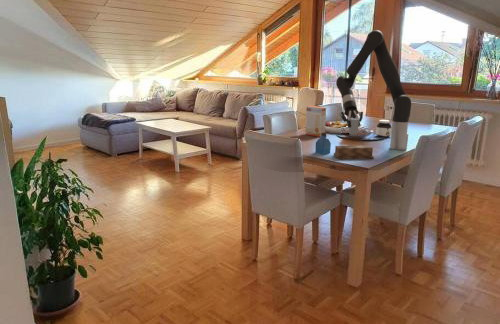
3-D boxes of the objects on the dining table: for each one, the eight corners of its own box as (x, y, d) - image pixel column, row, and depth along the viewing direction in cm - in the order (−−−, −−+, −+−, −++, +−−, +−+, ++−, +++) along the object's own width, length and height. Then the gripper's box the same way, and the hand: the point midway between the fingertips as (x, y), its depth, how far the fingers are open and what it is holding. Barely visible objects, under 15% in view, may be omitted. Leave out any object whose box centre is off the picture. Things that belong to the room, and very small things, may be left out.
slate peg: (355, 133, 235) (356, 118, 232) (357, 134, 230) (358, 119, 228) (348, 133, 234) (349, 118, 232) (350, 134, 230) (351, 119, 228)
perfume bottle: (322, 154, 229) (323, 134, 226) (315, 152, 234) (316, 133, 230) (330, 153, 232) (331, 133, 229) (322, 151, 237) (323, 131, 234)
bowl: (355, 127, 315) (356, 118, 313) (365, 135, 286) (366, 124, 284) (318, 127, 316) (318, 118, 314) (324, 135, 287) (324, 124, 285)
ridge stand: (367, 154, 229) (367, 144, 228) (373, 159, 220) (374, 148, 218) (333, 155, 228) (334, 145, 226) (338, 159, 218) (339, 149, 216)
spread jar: (379, 137, 276) (380, 121, 273) (371, 134, 287) (372, 119, 284) (394, 137, 278) (396, 121, 275) (386, 134, 289) (387, 118, 286)
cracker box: (325, 136, 280) (326, 107, 275) (319, 137, 277) (321, 108, 271) (310, 133, 291) (311, 105, 285) (305, 134, 287) (306, 106, 281)
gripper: (339, 100, 234) (344, 123, 226) (362, 99, 235) (368, 122, 227) (336, 107, 241) (341, 130, 232) (358, 107, 242) (364, 130, 233)
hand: (354, 126), depth 229 cm, fingers closed on slate peg, 4 cm apart
